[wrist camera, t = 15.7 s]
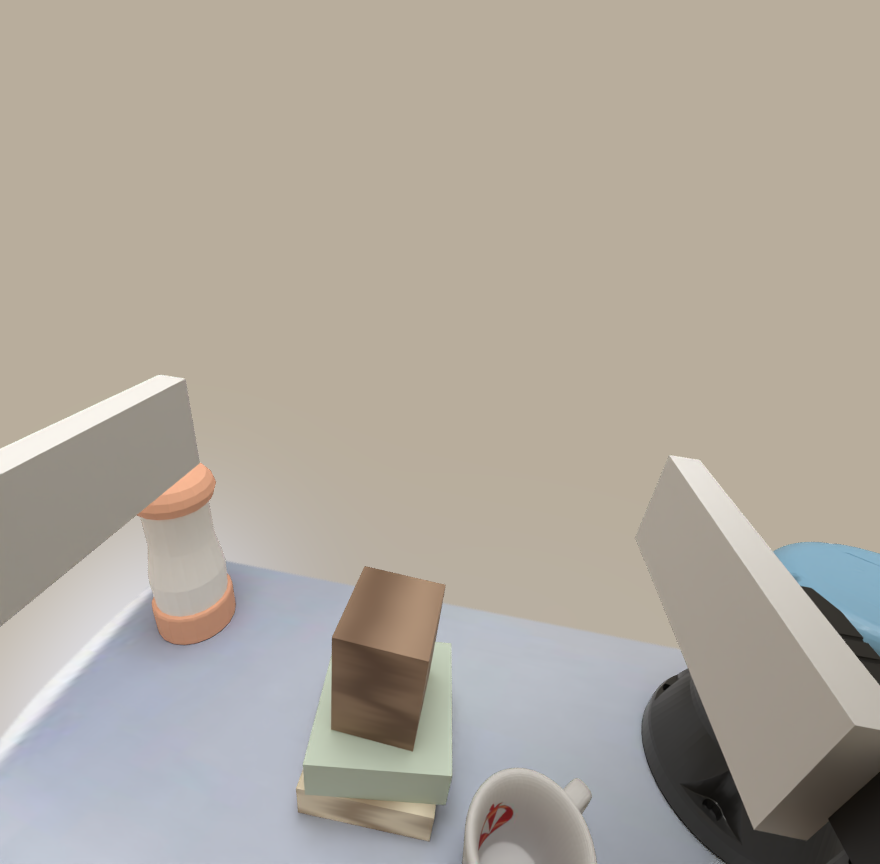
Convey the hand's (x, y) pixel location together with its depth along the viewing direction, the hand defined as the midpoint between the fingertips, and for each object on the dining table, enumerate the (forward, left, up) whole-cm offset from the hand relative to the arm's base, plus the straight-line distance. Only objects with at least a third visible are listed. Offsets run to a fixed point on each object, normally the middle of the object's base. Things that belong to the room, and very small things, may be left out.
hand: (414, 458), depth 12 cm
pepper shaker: (+24, -19, -35) cm, 47 cm away
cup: (-10, -4, -35) cm, 37 cm away
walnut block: (+2, -10, -27) cm, 29 cm away
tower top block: (+2, -10, -31) cm, 33 cm away
